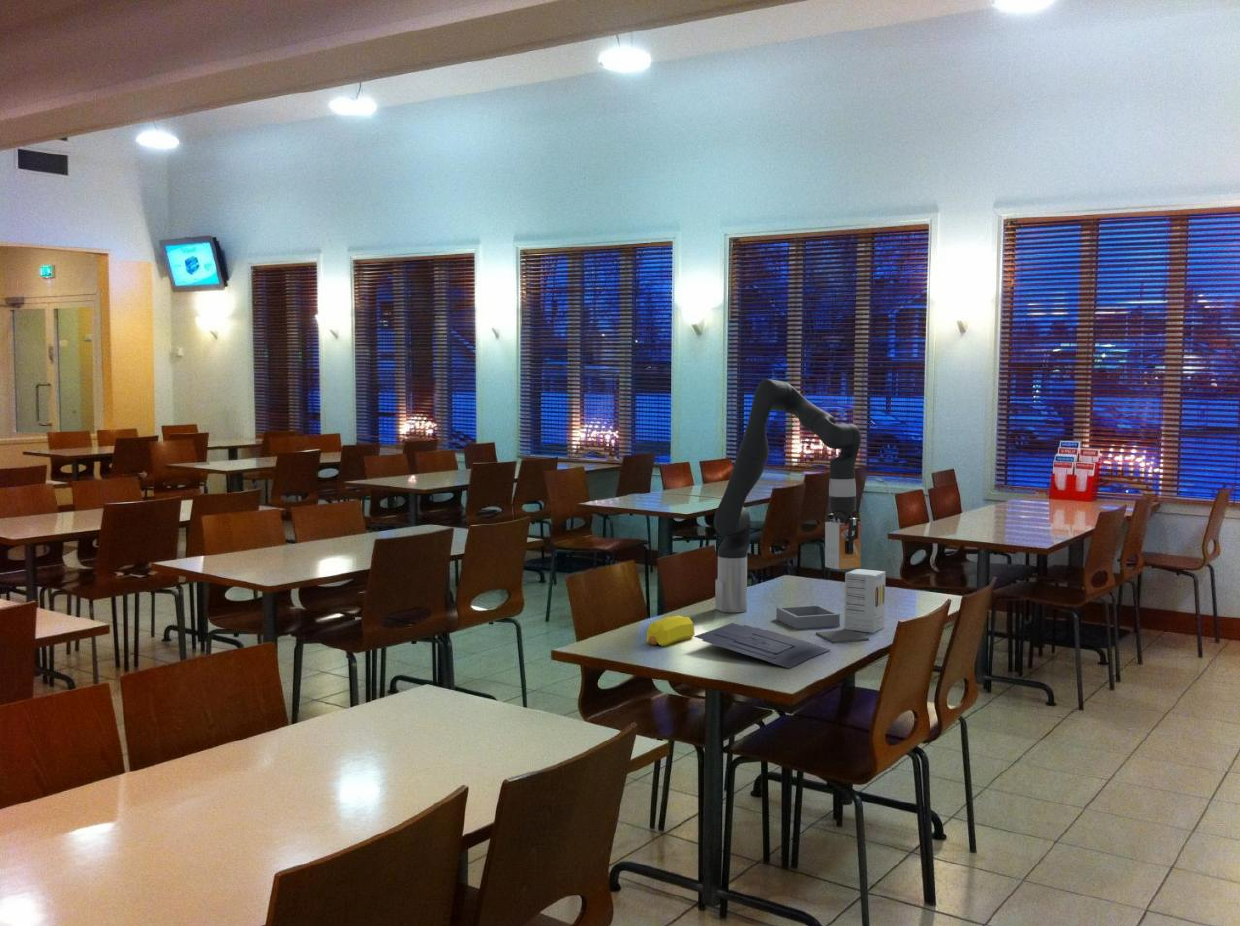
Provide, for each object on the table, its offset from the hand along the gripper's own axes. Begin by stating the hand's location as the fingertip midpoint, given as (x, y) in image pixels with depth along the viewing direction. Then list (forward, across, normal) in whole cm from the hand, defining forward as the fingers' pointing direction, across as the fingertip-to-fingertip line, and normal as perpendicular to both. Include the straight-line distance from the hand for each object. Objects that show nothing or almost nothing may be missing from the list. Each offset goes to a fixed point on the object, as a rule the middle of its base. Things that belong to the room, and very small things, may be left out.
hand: (842, 552), depth 311 cm
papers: (+24, -10, +30) cm, 40 cm away
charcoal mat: (+24, -2, +1) cm, 24 cm away
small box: (+4, 0, 0) cm, 4 cm away
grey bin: (+24, +18, +2) cm, 30 cm away
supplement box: (+24, +6, -10) cm, 27 cm away
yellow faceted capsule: (+24, +9, +49) cm, 55 cm away
